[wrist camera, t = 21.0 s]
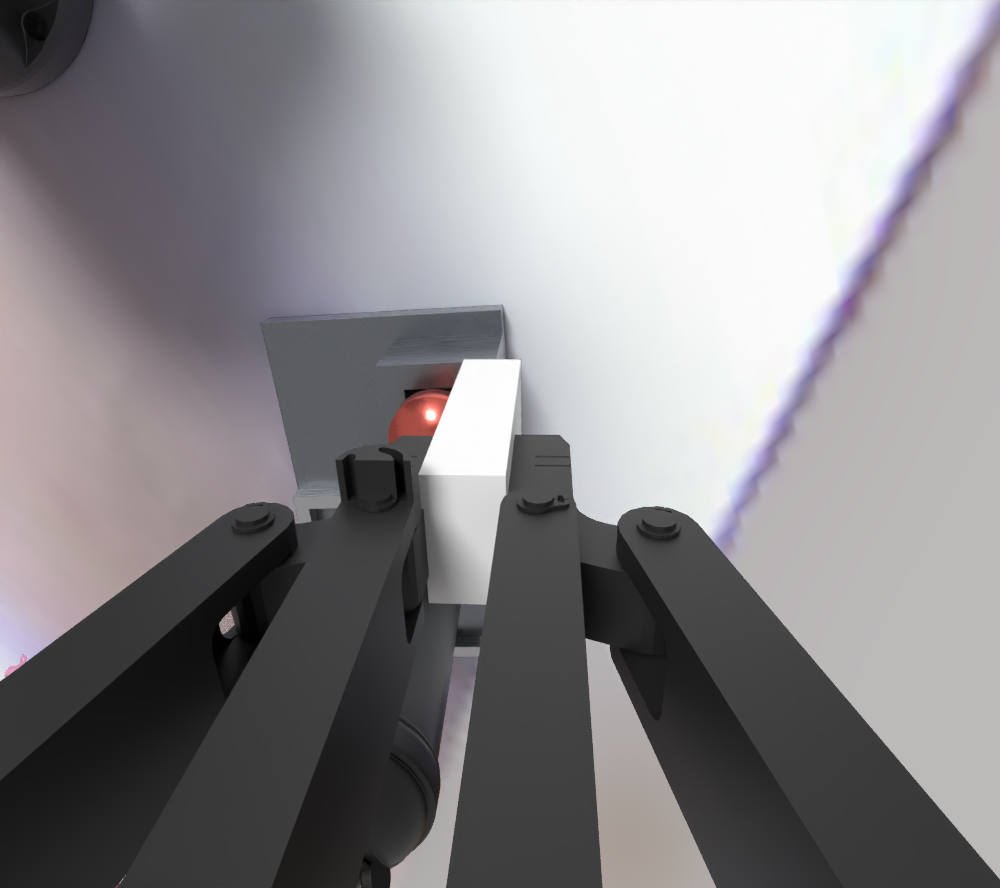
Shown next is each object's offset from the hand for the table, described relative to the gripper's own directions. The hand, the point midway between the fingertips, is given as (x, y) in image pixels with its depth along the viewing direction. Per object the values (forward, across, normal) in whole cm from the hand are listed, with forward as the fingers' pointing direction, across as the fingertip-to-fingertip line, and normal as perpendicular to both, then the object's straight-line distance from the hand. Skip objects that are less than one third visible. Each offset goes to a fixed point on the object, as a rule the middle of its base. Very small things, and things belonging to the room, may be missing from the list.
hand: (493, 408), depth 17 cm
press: (+27, -9, -18) cm, 33 cm away
